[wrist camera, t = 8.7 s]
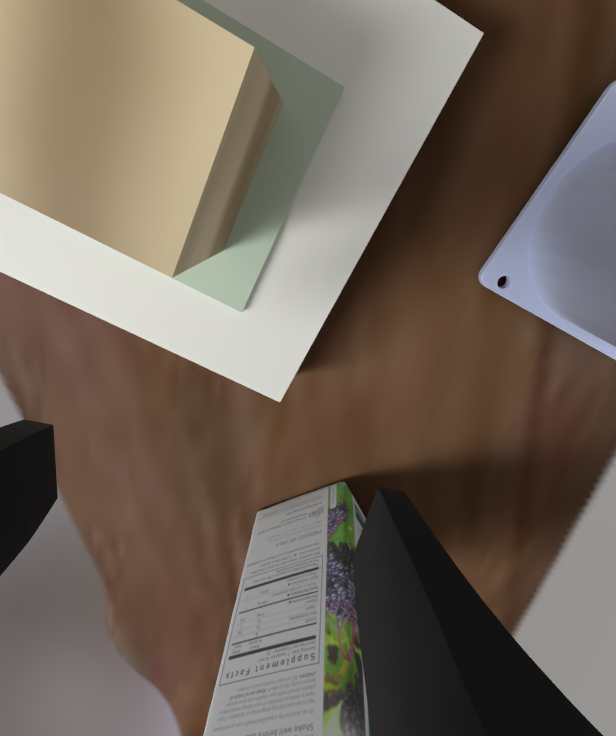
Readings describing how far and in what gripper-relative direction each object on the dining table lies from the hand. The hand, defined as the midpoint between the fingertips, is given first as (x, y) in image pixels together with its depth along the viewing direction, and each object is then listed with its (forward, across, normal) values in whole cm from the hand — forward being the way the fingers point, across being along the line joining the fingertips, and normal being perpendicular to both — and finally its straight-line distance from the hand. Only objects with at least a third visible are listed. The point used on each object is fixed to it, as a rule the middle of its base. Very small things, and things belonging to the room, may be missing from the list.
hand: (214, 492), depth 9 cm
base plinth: (+10, +4, -7) cm, 13 cm away
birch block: (+8, +4, -7) cm, 11 cm away
